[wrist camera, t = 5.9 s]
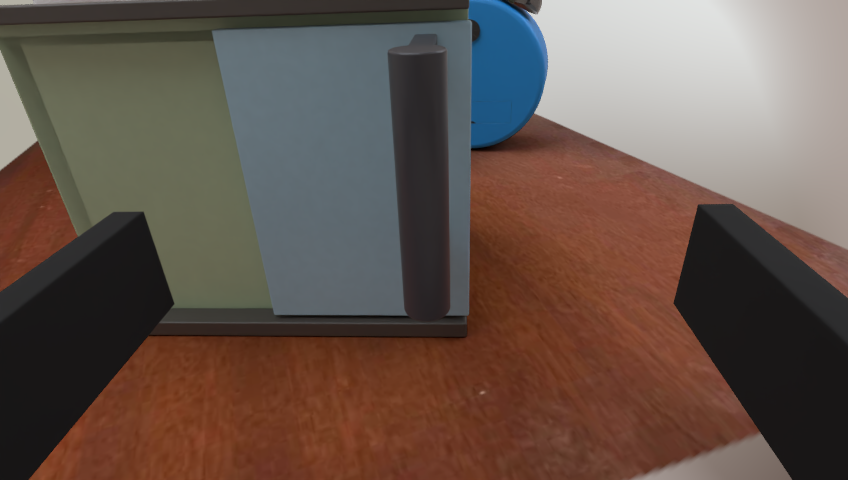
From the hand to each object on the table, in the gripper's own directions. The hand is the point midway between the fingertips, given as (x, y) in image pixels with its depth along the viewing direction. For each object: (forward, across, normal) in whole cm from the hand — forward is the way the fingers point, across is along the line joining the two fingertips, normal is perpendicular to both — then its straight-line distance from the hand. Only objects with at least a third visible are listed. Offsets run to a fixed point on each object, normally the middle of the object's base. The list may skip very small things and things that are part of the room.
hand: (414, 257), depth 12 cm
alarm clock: (+38, +3, -9) cm, 39 cm away
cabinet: (+14, -7, -9) cm, 18 cm away
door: (+6, -3, -8) cm, 10 cm away
